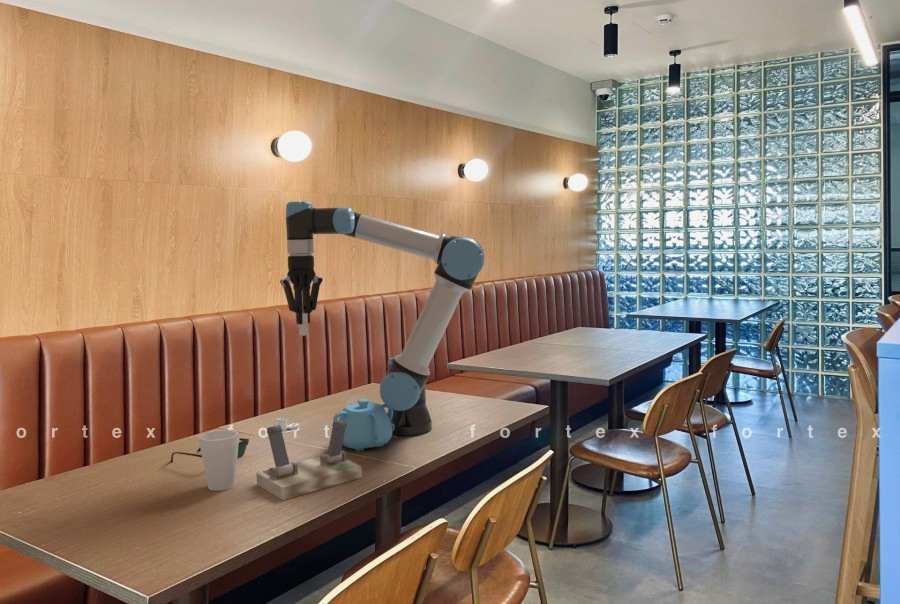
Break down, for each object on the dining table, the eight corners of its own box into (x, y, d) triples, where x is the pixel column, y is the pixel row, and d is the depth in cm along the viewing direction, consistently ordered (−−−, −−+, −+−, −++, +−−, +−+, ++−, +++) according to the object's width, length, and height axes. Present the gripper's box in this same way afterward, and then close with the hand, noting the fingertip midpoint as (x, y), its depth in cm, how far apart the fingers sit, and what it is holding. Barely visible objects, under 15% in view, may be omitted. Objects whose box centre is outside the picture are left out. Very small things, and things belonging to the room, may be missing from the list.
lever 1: (290, 473, 173) (278, 426, 176) (294, 471, 171) (282, 423, 174) (275, 477, 171) (264, 429, 173) (279, 475, 169) (267, 426, 172)
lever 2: (336, 456, 183) (344, 417, 178) (341, 462, 181) (349, 422, 177) (323, 460, 180) (330, 420, 176) (328, 465, 179) (335, 425, 174)
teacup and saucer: (301, 427, 226) (300, 415, 226) (293, 434, 218) (292, 422, 218) (275, 427, 227) (274, 415, 227) (266, 434, 219) (265, 421, 219)
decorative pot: (352, 435, 215) (350, 392, 214) (400, 439, 210) (399, 395, 209) (326, 451, 200) (325, 405, 199) (378, 456, 195) (376, 408, 194)
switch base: (333, 464, 189) (332, 444, 188) (361, 477, 178) (361, 456, 177) (256, 484, 174) (255, 463, 174) (282, 499, 164) (281, 477, 163)
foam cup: (199, 494, 168) (197, 442, 167) (202, 481, 177) (200, 431, 176) (241, 490, 171) (238, 438, 169) (241, 477, 179) (239, 428, 178)
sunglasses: (205, 448, 205) (204, 432, 205) (251, 455, 199) (250, 438, 198) (161, 466, 190) (160, 448, 190) (209, 474, 184) (208, 455, 183)
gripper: (314, 254, 211) (316, 331, 213) (274, 255, 202) (277, 336, 205) (326, 254, 205) (329, 333, 207) (286, 255, 197) (289, 338, 199)
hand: (303, 334), depth 206 cm, fingers closed
